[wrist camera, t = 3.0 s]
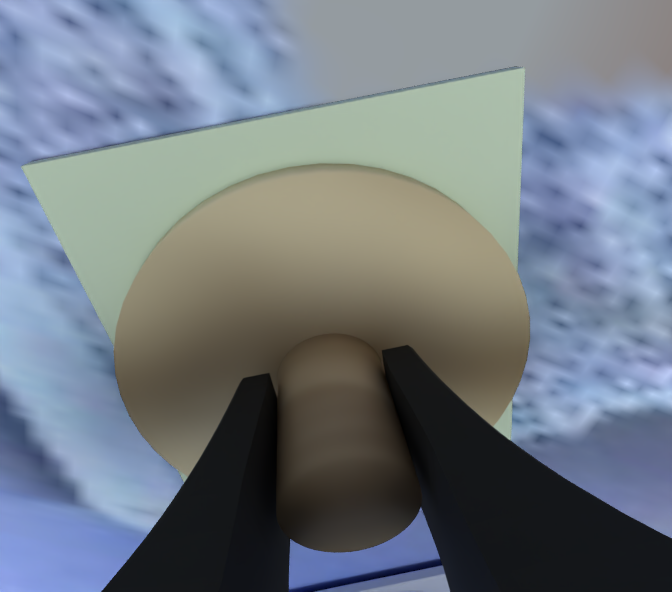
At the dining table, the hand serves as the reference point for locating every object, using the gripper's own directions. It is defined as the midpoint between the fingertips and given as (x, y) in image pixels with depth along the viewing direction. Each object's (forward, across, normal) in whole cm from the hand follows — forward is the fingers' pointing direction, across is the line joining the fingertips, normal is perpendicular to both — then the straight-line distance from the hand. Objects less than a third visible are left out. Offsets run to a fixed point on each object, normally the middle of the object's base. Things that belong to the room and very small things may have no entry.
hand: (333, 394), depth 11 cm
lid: (+1, 0, 0) cm, 1 cm away
